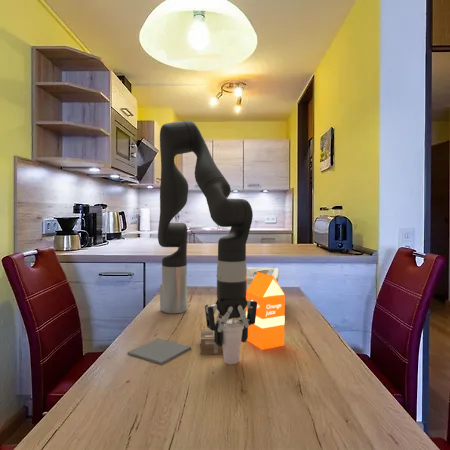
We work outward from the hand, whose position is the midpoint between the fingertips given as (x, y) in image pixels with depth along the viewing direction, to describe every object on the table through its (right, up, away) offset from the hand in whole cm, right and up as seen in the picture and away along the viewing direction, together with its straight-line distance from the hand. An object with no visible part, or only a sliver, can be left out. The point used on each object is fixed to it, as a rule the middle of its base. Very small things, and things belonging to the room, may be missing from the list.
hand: (231, 343), depth 92 cm
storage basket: (+11, -3, +48) cm, 49 cm away
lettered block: (-4, -4, +9) cm, 11 cm away
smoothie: (0, -5, 0) cm, 5 cm away
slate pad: (-19, -4, +6) cm, 21 cm away
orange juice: (+10, -4, +13) cm, 17 cm away
